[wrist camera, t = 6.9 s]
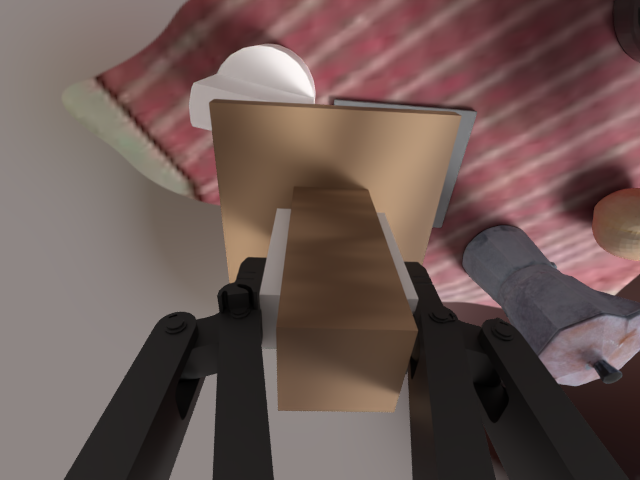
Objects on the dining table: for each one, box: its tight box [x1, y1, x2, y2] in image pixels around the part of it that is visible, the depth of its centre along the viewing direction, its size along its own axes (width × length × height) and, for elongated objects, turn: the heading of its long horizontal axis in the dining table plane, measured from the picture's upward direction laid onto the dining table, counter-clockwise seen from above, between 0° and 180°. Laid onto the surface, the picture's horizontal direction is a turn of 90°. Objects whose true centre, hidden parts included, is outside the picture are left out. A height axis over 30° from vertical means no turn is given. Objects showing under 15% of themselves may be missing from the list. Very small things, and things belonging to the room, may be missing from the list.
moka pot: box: [462, 225, 640, 386], centre depth 37 cm, size 10×15×20 cm, turn 147°
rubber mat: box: [334, 99, 477, 228], centre depth 38 cm, size 15×14×1 cm
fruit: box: [592, 188, 640, 261], centre depth 38 cm, size 8×8×8 cm
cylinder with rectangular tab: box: [189, 44, 315, 131], centre depth 29 cm, size 9×9×12 cm
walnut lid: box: [209, 99, 462, 412], centre depth 15 cm, size 12×12×11 cm
